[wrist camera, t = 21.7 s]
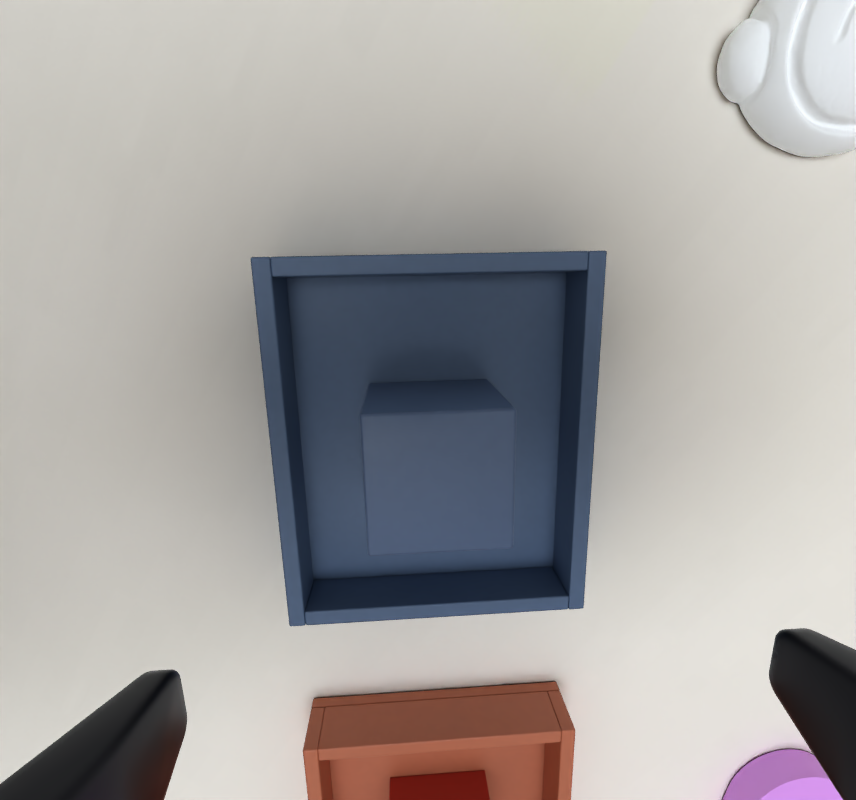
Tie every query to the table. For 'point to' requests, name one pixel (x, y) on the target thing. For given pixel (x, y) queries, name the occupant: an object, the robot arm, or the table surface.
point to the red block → (440, 786)
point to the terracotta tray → (442, 741)
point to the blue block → (438, 467)
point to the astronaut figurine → (795, 74)
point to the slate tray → (429, 361)
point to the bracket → (782, 778)
